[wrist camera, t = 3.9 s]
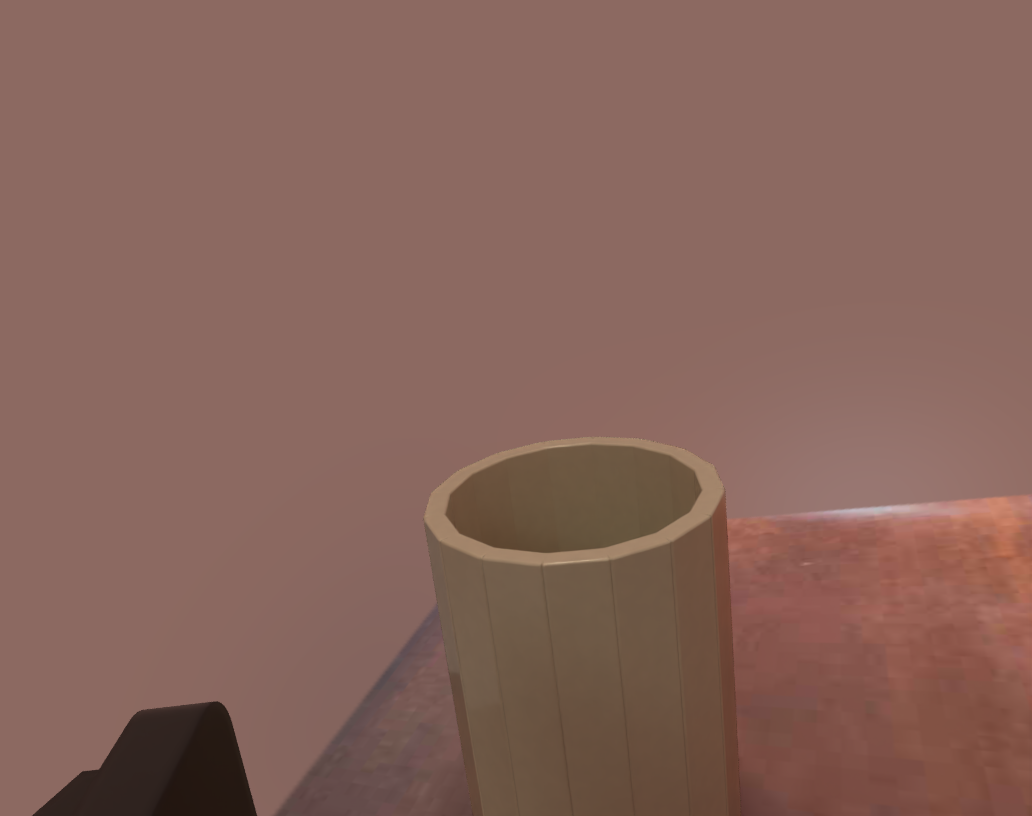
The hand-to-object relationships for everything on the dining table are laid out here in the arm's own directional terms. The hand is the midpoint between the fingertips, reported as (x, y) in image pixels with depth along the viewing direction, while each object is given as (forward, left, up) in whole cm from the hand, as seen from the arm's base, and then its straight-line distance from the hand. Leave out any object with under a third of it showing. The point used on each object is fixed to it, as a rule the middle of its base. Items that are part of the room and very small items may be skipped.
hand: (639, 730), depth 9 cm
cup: (+4, +11, -12) cm, 17 cm away
